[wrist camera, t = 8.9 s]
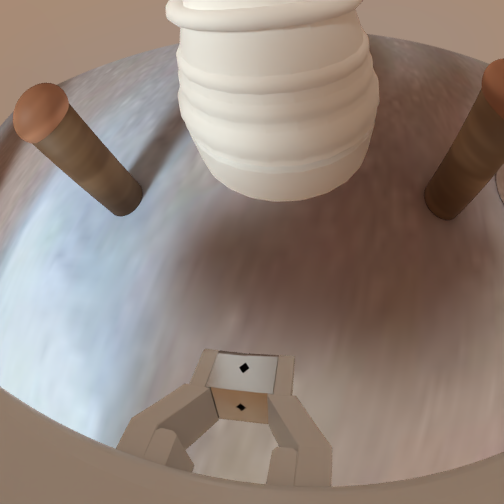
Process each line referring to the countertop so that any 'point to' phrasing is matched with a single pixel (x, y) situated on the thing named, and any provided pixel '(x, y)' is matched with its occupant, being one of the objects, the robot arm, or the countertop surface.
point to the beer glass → (500, 182)
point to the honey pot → (276, 92)
